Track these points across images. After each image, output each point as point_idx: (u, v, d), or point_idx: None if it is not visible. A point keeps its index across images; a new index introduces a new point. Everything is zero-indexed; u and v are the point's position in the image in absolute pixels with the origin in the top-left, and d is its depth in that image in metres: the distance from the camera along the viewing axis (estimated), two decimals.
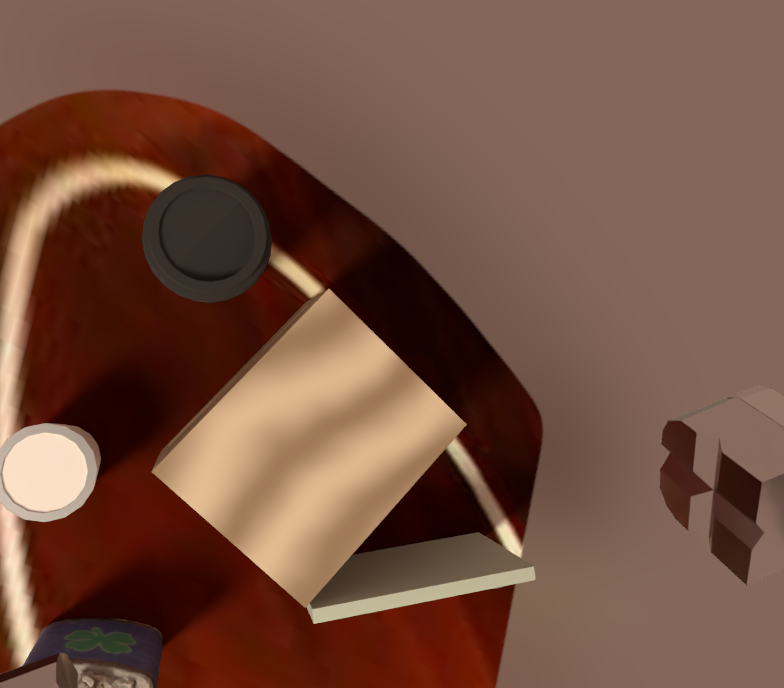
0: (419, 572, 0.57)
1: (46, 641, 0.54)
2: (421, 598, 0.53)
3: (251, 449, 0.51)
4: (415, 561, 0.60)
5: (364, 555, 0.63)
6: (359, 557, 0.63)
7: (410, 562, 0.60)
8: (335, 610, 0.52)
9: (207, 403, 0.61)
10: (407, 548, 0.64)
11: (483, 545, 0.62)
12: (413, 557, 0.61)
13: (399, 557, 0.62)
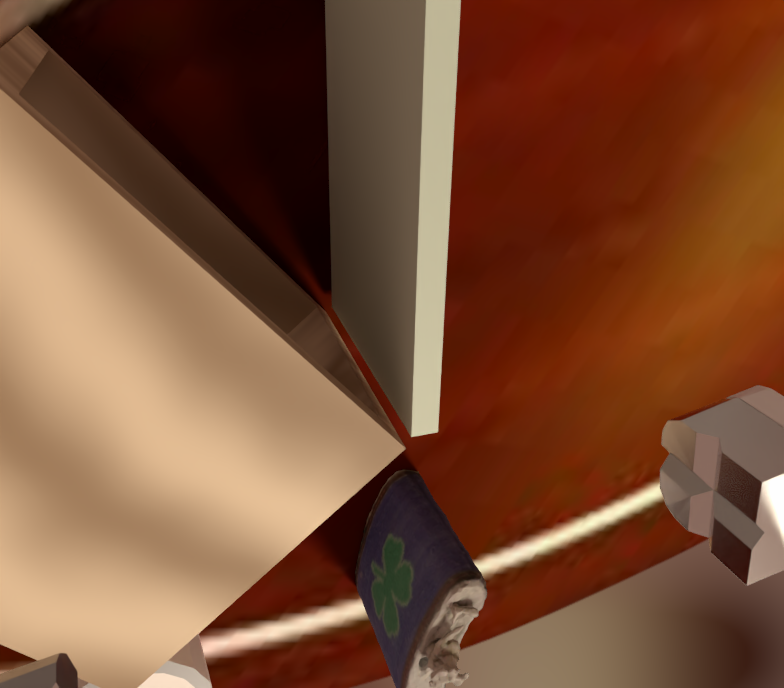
0: (384, 166, 0.25)
1: (376, 634, 0.42)
2: (440, 222, 0.23)
3: (78, 568, 0.24)
4: (360, 132, 0.27)
5: (332, 188, 0.33)
6: (335, 203, 0.33)
7: (360, 143, 0.28)
8: (423, 397, 0.26)
9: None
10: (333, 101, 0.31)
11: None
12: (352, 122, 0.28)
13: (346, 142, 0.30)
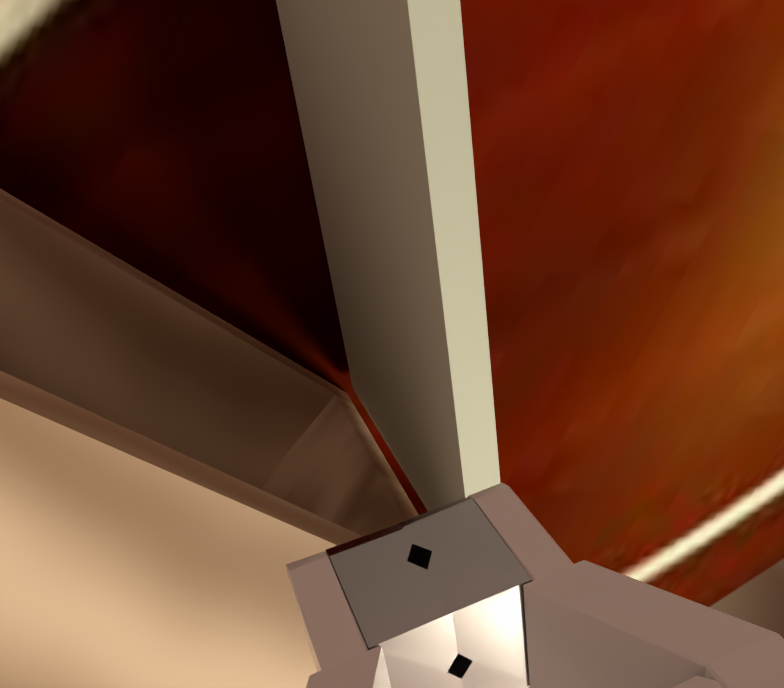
0: (389, 261, 0.19)
1: None
2: (477, 344, 0.17)
3: None
4: (353, 208, 0.21)
5: (331, 260, 0.27)
6: (337, 278, 0.27)
7: (354, 221, 0.22)
8: None
9: None
10: (315, 161, 0.25)
11: None
12: (341, 193, 0.22)
13: (338, 215, 0.24)
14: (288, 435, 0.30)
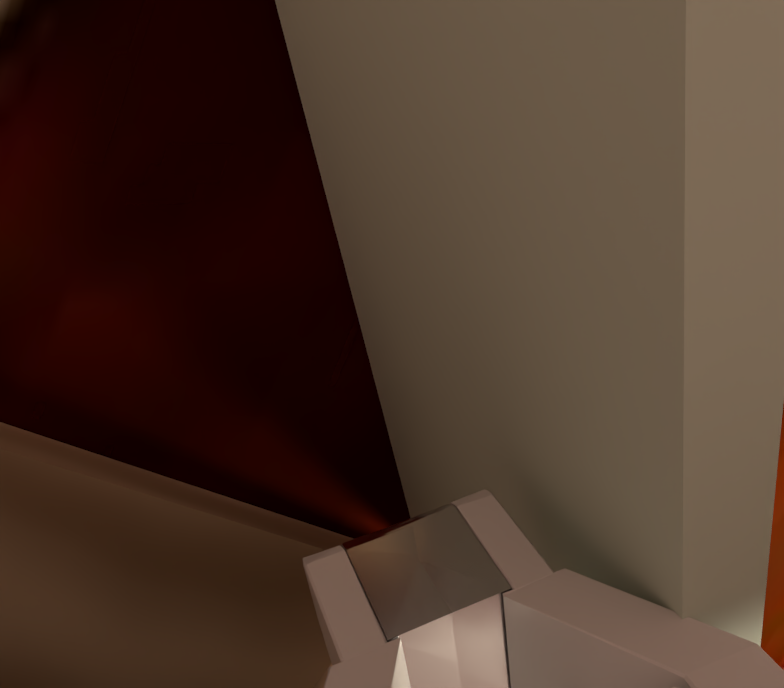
0: (521, 516, 0.11)
1: None
2: None
3: None
4: (437, 390, 0.13)
5: (387, 409, 0.18)
6: (398, 436, 0.18)
7: (440, 407, 0.13)
8: None
9: None
10: (360, 285, 0.16)
11: (340, 16, 0.11)
12: (411, 354, 0.14)
13: (404, 374, 0.15)
14: None
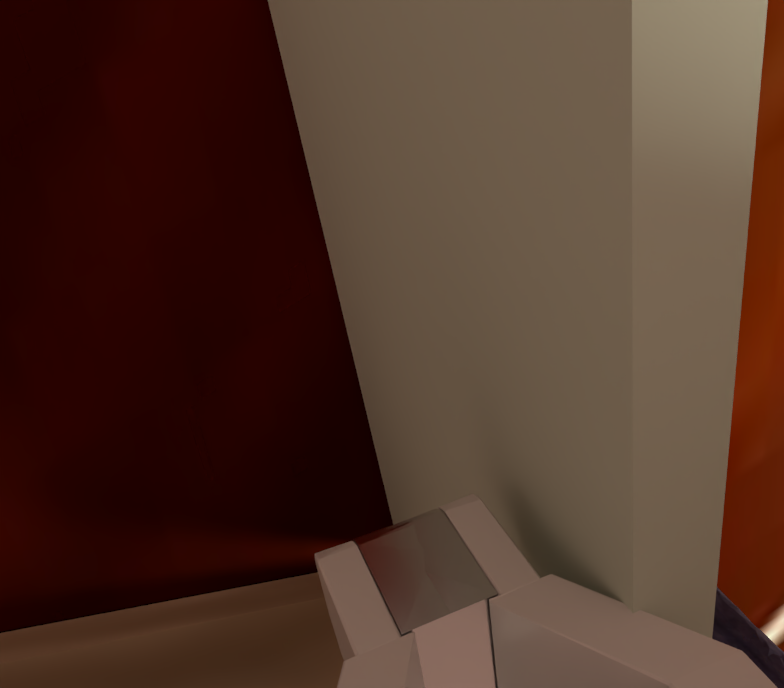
0: None
1: None
2: None
3: None
4: (416, 396, 0.13)
5: (371, 410, 0.19)
6: (381, 438, 0.19)
7: (419, 412, 0.14)
8: None
9: None
10: (346, 288, 0.16)
11: (328, 28, 0.11)
12: (393, 359, 0.14)
13: (386, 377, 0.15)
14: None
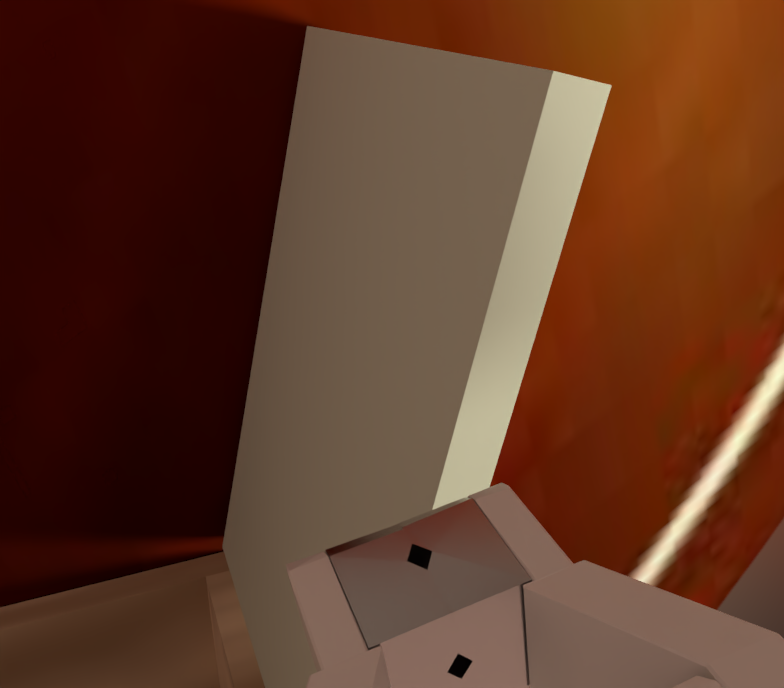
0: (351, 446, 0.16)
1: None
2: None
3: None
4: (315, 363, 0.18)
5: (253, 399, 0.23)
6: (254, 423, 0.22)
7: (312, 378, 0.18)
8: None
9: None
10: (276, 289, 0.21)
11: (352, 94, 0.16)
12: (303, 338, 0.19)
13: (287, 359, 0.20)
14: (198, 634, 0.26)
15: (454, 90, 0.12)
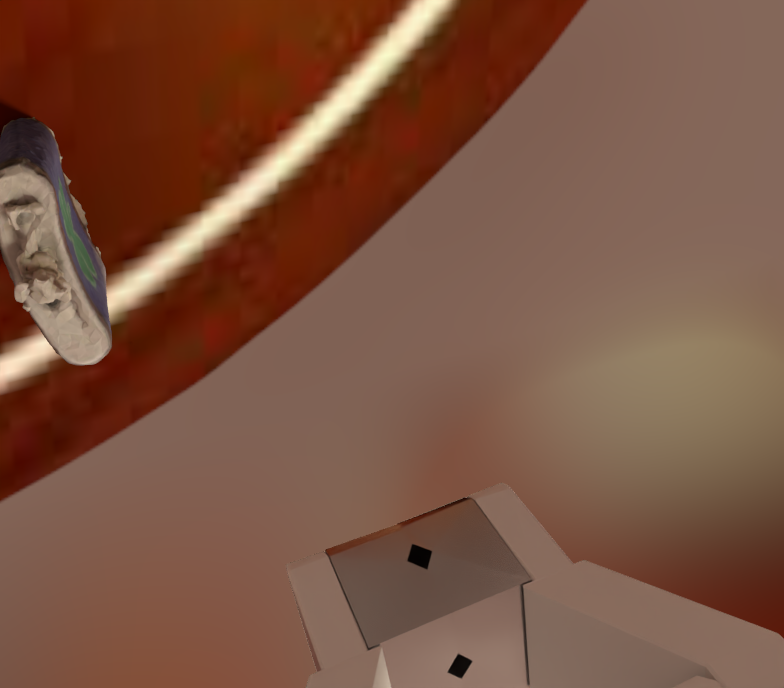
0: None
1: None
2: None
3: None
4: None
5: None
6: None
7: None
8: None
9: None
10: None
11: None
12: None
13: None
14: None
15: None
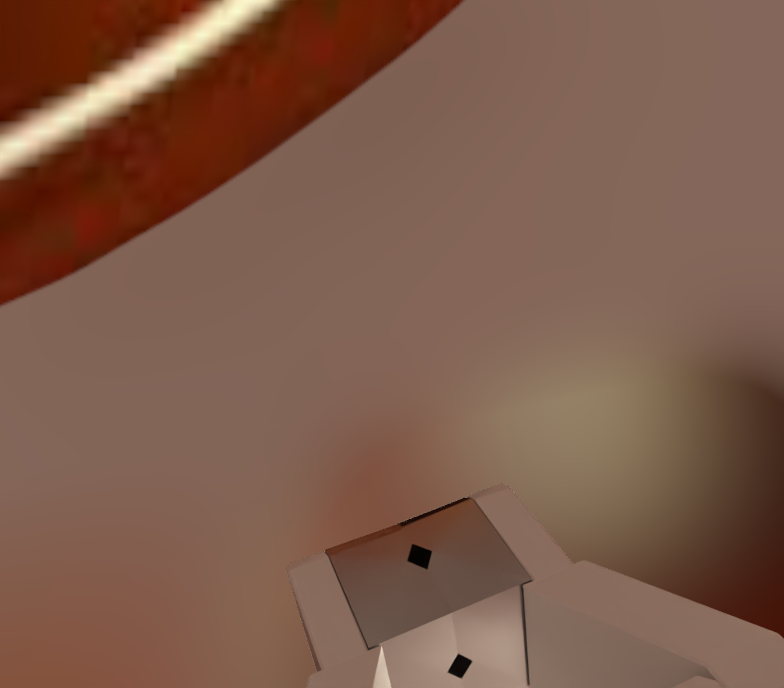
0: None
1: None
2: None
3: None
4: None
5: None
6: None
7: None
8: None
9: None
10: None
11: None
12: None
13: None
14: None
15: None
